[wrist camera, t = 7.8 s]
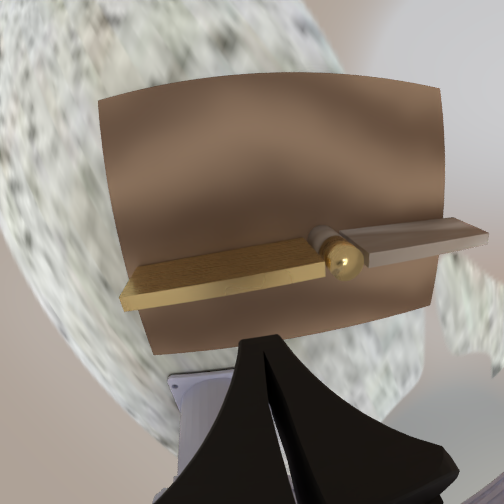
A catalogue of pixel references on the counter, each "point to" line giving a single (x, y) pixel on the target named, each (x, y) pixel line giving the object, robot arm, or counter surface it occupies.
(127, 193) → the hinge base
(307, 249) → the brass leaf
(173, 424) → the counter surface
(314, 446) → the robot arm
